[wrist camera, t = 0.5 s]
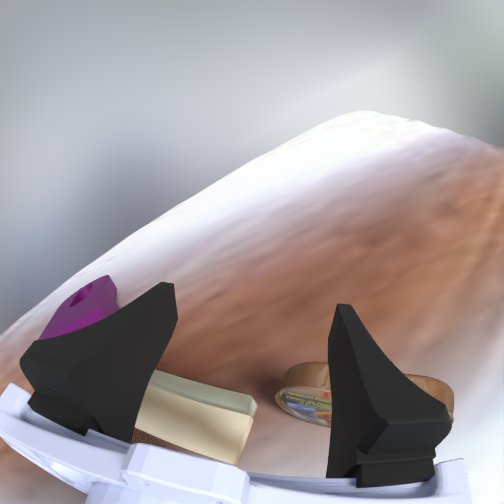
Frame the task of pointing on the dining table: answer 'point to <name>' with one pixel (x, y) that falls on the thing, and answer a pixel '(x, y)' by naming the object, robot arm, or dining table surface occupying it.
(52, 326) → the mounting bracket
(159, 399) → the rail
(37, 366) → the robot arm
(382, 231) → the dining table surface
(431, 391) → the tin
